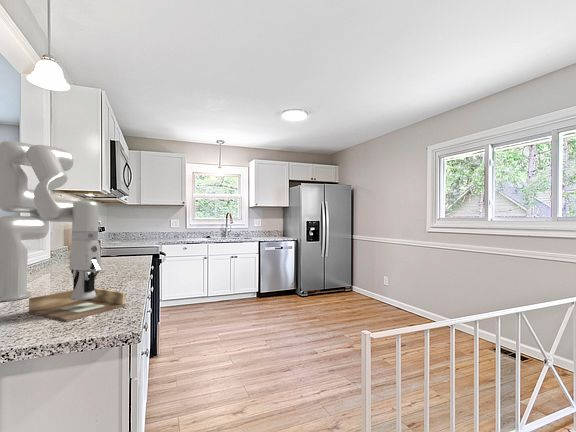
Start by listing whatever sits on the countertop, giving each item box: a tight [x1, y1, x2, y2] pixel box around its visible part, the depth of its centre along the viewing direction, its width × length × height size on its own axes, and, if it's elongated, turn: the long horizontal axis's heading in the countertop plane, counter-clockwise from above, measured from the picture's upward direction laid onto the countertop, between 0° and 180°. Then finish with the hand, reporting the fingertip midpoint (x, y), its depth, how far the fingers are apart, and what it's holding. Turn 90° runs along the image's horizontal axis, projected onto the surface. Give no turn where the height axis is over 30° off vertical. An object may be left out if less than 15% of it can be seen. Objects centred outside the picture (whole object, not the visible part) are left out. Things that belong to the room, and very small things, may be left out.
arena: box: [28, 287, 127, 323], centre depth 108 cm, size 20×20×5 cm
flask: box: [70, 269, 96, 300], centre depth 107 cm, size 7×7×10 cm
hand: (83, 289), depth 107 cm, fingers closed on flask, 4 cm apart
